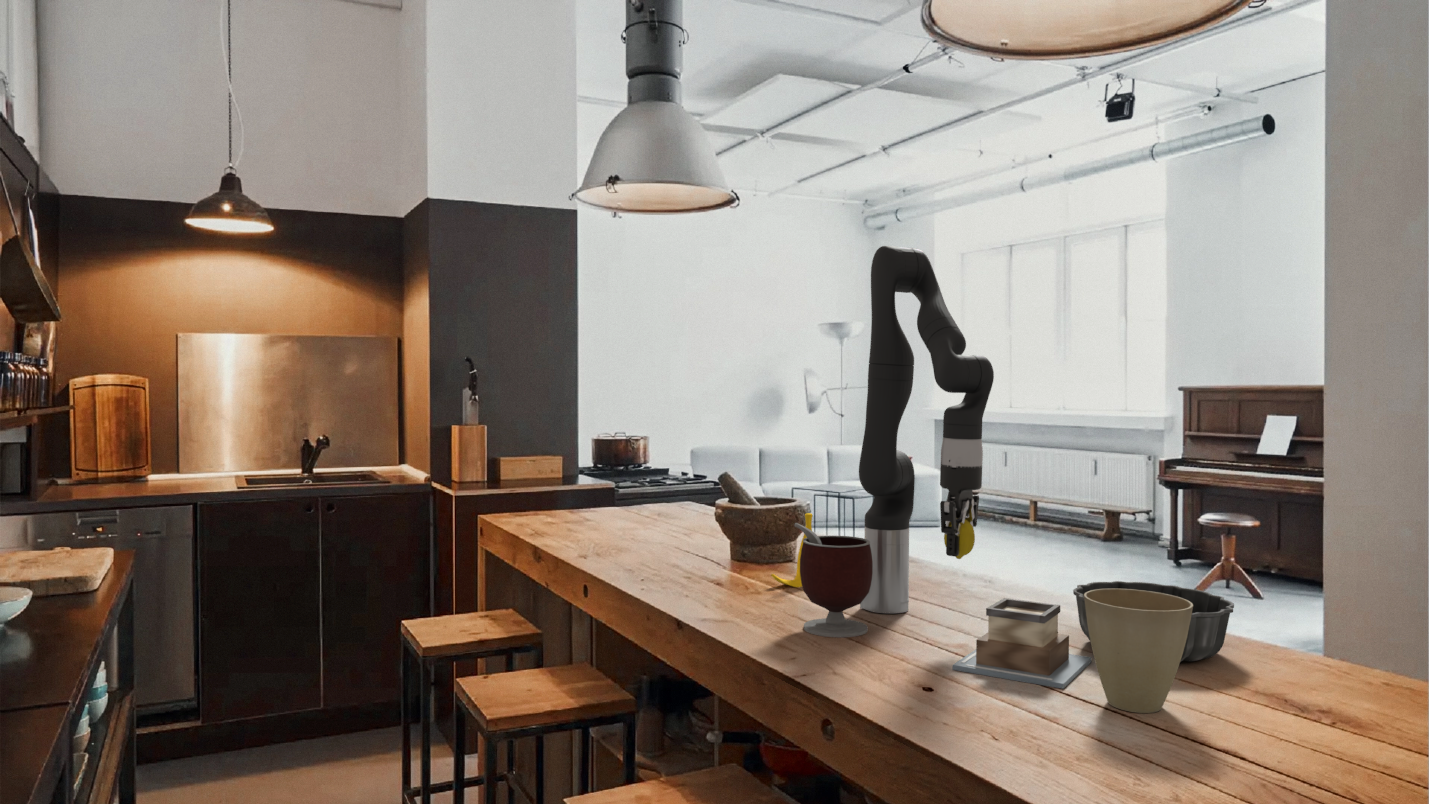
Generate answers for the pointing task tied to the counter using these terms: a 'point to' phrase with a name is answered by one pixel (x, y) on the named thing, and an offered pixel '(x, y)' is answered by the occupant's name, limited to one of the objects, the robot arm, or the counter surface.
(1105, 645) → the plant pot
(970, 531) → the lemon
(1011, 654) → the block tower
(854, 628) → the mate gourd
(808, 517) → the banana peel
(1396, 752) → the counter surface
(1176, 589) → the bundt pan
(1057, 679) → the board
